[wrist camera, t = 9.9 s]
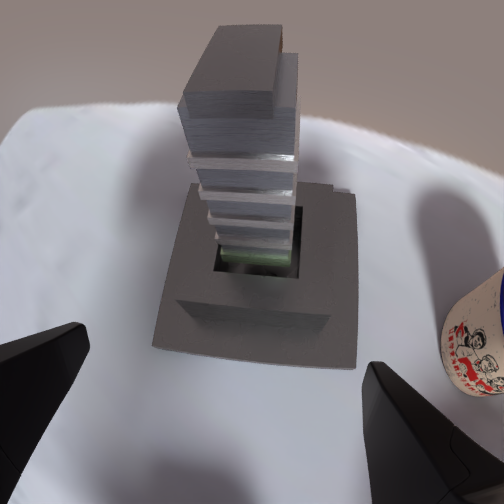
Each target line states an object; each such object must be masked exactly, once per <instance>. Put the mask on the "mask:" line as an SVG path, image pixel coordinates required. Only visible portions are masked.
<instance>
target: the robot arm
mask: <svg viewBox="0 0 504 504" xmlns="http://www.w3.org/2000/svg"><path fill="white" fill-rule="evenodd" d="M89 350H90V343H89V339H88V335H87V330H86V327H85V325H84V324H82V323H78V322H71V323H68V324H65V325H62V326H59V327H55V328H52V329H49V330H46V331H43V332H40V333H37V334H33V335H30V336H27V337H24V338H21V339H18V340H14V341H11V342H8V343H5V344H2V345H0V504H7V503H8V501H9V499H10V497H11V495H12V493H13V491H14V489H15V487H16V485H17V483H18V481H19V479H20V477H21V474H22V472H23V470H24V468H25V467H26V465H27V463H28V461H29V459H30V457H31V455H32V453H33V452H34V450H35V448H36V446H37V444H38V442H39V441H40V439H41V437H42V435H43V434H44V432H45V430H46V428H47V426H48V425H49V423H50V421H51V420H52V418H53V416H54V414H55V413H56V411H57V409H58V408H59V406H60V404H61V403H62V401H63V399H64V398H65V396H66V394H67V393H68V391H69V390H70V388H71V386H72V384H73V382H74V381H75V379H76V376H77V374H78V372H79V370H80V368H81V366H82V364H83V362H84V360H85V358H86V356H87V354H88V352H89ZM362 408H363V434H364V442H365V449H366V456H367V463H368V471H369V479H370V488H371V497H372V504H504V463H503V462H502V461H500V460H499V459H498V458H496V457H495V456H493V455H492V454H490V453H489V452H488V451H486V450H485V449H484V448H482V447H481V446H480V445H478V444H477V443H476V442H474V441H473V440H472V439H471V438H470V437H468V436H467V435H466V434H465V433H464V432H463V431H461V430H460V429H459V428H458V427H457V426H454V424H453V423H452V422H451V421H450V420H449V419H448V418H447V417H445V416H444V415H443V414H442V413H441V412H440V411H439V410H438V409H436V408H435V407H434V406H433V405H432V404H431V403H430V402H428V401H427V400H426V399H425V398H424V397H423V396H422V395H420V394H419V393H418V392H417V391H416V390H415V389H414V388H413V387H411V386H410V385H409V384H408V383H407V382H406V381H405V380H403V379H402V378H401V377H400V376H399V375H398V374H397V373H395V372H394V371H393V370H392V369H391V368H390V367H389V366H388V365H386V364H385V363H384V362H381V361H371V362H370V363H369V364H368V366H367V370H366V373H365V376H364V380H363V383H362Z"/></svg>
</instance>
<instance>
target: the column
mask: <svg viewBox="0 0 504 504" xmlns="http://www.w3.org/2000/svg"><path fill="white" fill-rule="evenodd" d="M282 40H283V38H282V25H227V26H219V27H218V28H217V30H216V32H215V33H214V35H213V37H212V39H211V40H210V42H209V44H208V46H207V48H206V49H205V51H204V53H203V55H202V56H201V58H200V60H199V62H198V64H197V66H196V68H195V70H194V72H193V73H192V75H191V77H190V79H189V81H188V83H187V85H186V87H185V89H184V91H183V96H182V98H181V100H180V102H179V104H178V106H177V110H178V113H179V116H180V119H181V123H182V126H183V129H184V132H185V136H186V139H187V142H188V145H189V148H190V149H189V152H188V155H187V161H188V164H189V167H190V169H196V170H197V174H198V177H199V180H200V185H199V189H198V193H199V196H200V198H201V200H206V201H207V204H208V207H209V212H208V216H207V218H208V221H209V224H212V225H214V226H215V229H216V235H215V241H216V244H221V246H222V248H221V253H220V255H221V257H222V260H223V262H233V263H244V264H256V265H268V266H280V267H290V262H291V250H292V239H293V227H294V213H295V201H296V186H297V172H298V155H299V132H300V104H301V96H297V80H298V79H297V78H298V53H282V48H283V41H282Z"/></svg>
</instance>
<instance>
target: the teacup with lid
mask: <svg viewBox="0 0 504 504" xmlns="http://www.w3.org/2000/svg"><path fill="white" fill-rule="evenodd" d="M441 353H442V359H443V363H444V366H445V369H446V372H447V374H448V376H449V378H450V379H451V381H452V382H453V383H454V384H455V386H456V387H457V388H459V389H460V390H461V391H462V392H464V393H466V394H468V395H471V396H476V397H483V396H491V395H497V394H504V267H503V268H502V269H501V270H499V271H498V272H497V273H495V274H494V275H493V276H492V277H490V278H489V279H488V280H486V281H485V282H484V283H482V284H481V285H480V286H478V287H477V288H475V289H474V290H473V291H471V292H470V293H468V294H467V295H466V296H464V297H463V298H461V299H460V300H459V301H458V302H457V303H456V304H455V305H454V306H453V307H452V308H451V310H450V312H449V313H448V315H447V317H446V320H445V323H444V326H443V330H442V336H441Z"/></svg>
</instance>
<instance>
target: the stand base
mask: <svg viewBox="0 0 504 504" xmlns="http://www.w3.org/2000/svg"><path fill="white" fill-rule="evenodd" d="M199 185H200V184H193V183H191V186H190V189H189V193H188V196H187V200H186V203H185V207H184V210H183V214H182V218H181V222H180V225H179V229H178V233H177V237H176V241H175V244H174V248H173V252H172V256H171V260H170V265H169V269H168V273H167V277H166V281H165V286H164V290H163V295H162V299H161V304H160V308H159V313H158V318H157V322H156V327H155V332H154V337H153V342H152V346H154V347H156V348H159V349H164V350H170V351H175V352H181V353H187V354H193V355H199V356H206V357H213V358H220V359H227V360H235V361H243V362H251V363H260V364H270V365H281V366H292V367H305V368H321V369H341V370H353V369H356V357H357V336H358V236H357V214H356V198H355V194H350V193H340V192H333V185H328V184H317V183H305V182H297V186H296V201H295V213H294V227H293V239H292V250H291V262H290V267H280V266H268V265H256V264H244V263H233V262H223V260H222V257H221V255H220V253H221V248H222V246H221V244H216V241H215V235H216V229H215V226H214V225H212V224H209V221H208V218H207V216H208V212H209V207H208V204H207V201H206V200H201V198H200V196H199V193H198V189H199Z"/></svg>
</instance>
